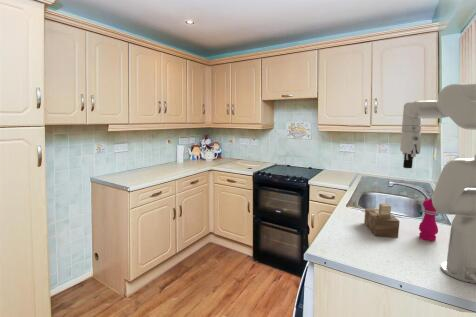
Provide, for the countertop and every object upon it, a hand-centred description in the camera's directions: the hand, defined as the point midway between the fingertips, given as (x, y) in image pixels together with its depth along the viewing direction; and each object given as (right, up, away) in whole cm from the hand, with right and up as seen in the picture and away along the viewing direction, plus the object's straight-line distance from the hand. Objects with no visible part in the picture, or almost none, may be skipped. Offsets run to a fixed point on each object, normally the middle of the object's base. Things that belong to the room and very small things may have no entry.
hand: (407, 167), depth 130 cm
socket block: (-11, -31, +4) cm, 33 cm away
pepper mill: (+6, -32, -5) cm, 33 cm away
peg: (-11, -25, 0) cm, 28 cm away
